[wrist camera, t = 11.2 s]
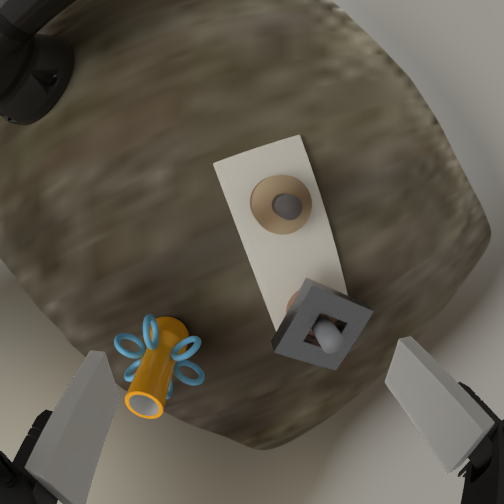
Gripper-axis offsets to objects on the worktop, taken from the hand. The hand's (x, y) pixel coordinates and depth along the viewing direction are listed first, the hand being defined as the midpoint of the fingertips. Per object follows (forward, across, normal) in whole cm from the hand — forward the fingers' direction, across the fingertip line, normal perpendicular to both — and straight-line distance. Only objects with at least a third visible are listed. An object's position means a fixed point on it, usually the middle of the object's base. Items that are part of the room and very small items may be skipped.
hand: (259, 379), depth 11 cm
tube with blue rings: (+25, -10, -13) cm, 30 cm away
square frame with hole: (+19, +10, -9) cm, 24 cm away
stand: (+24, +5, +5) cm, 25 cm away
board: (+25, +7, -2) cm, 26 cm away
